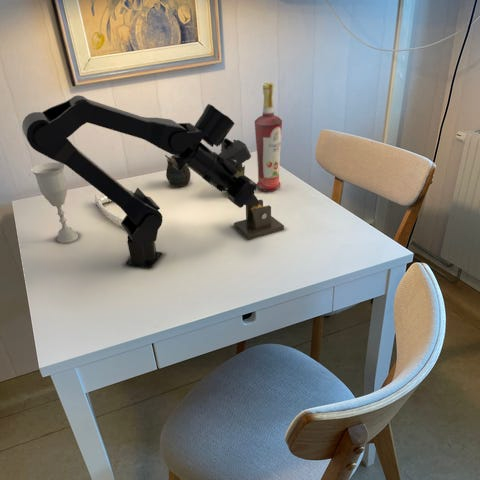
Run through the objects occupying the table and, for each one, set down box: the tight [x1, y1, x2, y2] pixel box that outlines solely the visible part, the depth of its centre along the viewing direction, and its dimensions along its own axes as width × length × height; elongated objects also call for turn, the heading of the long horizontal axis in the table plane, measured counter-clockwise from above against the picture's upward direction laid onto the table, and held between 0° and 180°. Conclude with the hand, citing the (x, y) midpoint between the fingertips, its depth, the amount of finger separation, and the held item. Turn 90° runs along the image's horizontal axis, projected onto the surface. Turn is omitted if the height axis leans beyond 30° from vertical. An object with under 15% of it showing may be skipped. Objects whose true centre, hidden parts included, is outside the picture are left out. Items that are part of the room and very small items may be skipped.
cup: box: [226, 163, 246, 194], centre depth 138 cm, size 8×7×8 cm
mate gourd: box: [164, 154, 192, 188], centre depth 145 cm, size 7×8×10 cm
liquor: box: [254, 82, 283, 192], centre depth 134 cm, size 7×7×28 cm
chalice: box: [31, 161, 79, 244], centre depth 118 cm, size 7×7×18 cm
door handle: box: [94, 193, 124, 226], centre depth 132 cm, size 3×10×25 cm
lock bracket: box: [233, 199, 285, 240], centre depth 121 cm, size 10×8×6 cm
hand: (251, 199), depth 117 cm, fingers open, 7 cm apart
